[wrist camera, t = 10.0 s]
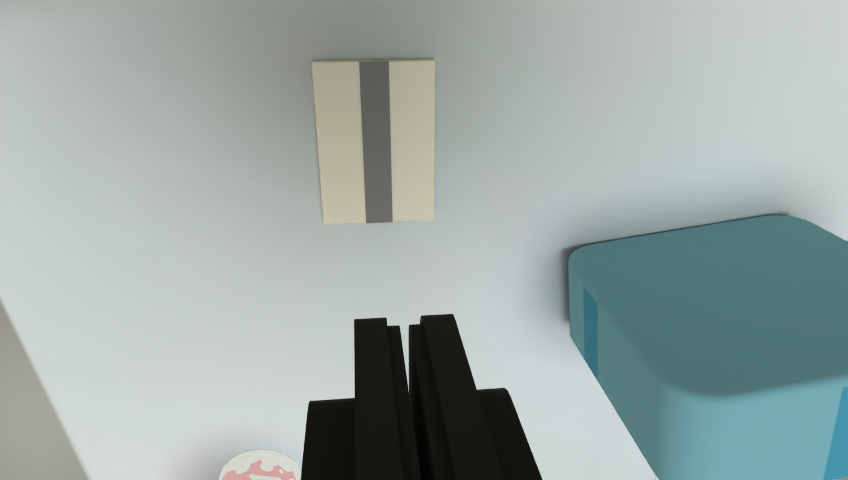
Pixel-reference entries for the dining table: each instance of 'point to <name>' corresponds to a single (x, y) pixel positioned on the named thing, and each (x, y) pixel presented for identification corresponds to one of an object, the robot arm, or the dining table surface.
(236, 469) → the beverage cup
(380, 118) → the label tile
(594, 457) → the dining table surface
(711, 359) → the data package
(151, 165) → the dining table surface
